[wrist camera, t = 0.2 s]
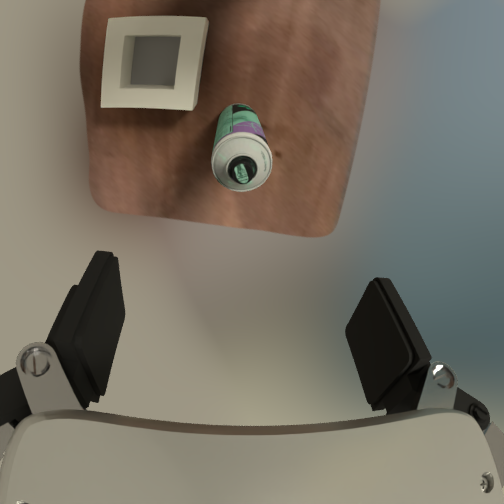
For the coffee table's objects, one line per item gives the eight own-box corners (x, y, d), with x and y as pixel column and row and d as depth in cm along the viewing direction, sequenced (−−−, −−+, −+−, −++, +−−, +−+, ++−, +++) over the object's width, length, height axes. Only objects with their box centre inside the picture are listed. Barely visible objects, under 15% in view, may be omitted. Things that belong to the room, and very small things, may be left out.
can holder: (122, 21, 29) (108, 18, 25) (209, 22, 31) (206, 17, 27) (115, 100, 36) (100, 107, 32) (197, 103, 38) (192, 110, 34)
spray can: (240, 147, 43) (246, 216, 27) (210, 124, 40) (195, 180, 24) (265, 119, 40) (290, 171, 24) (235, 95, 38) (239, 129, 22)
